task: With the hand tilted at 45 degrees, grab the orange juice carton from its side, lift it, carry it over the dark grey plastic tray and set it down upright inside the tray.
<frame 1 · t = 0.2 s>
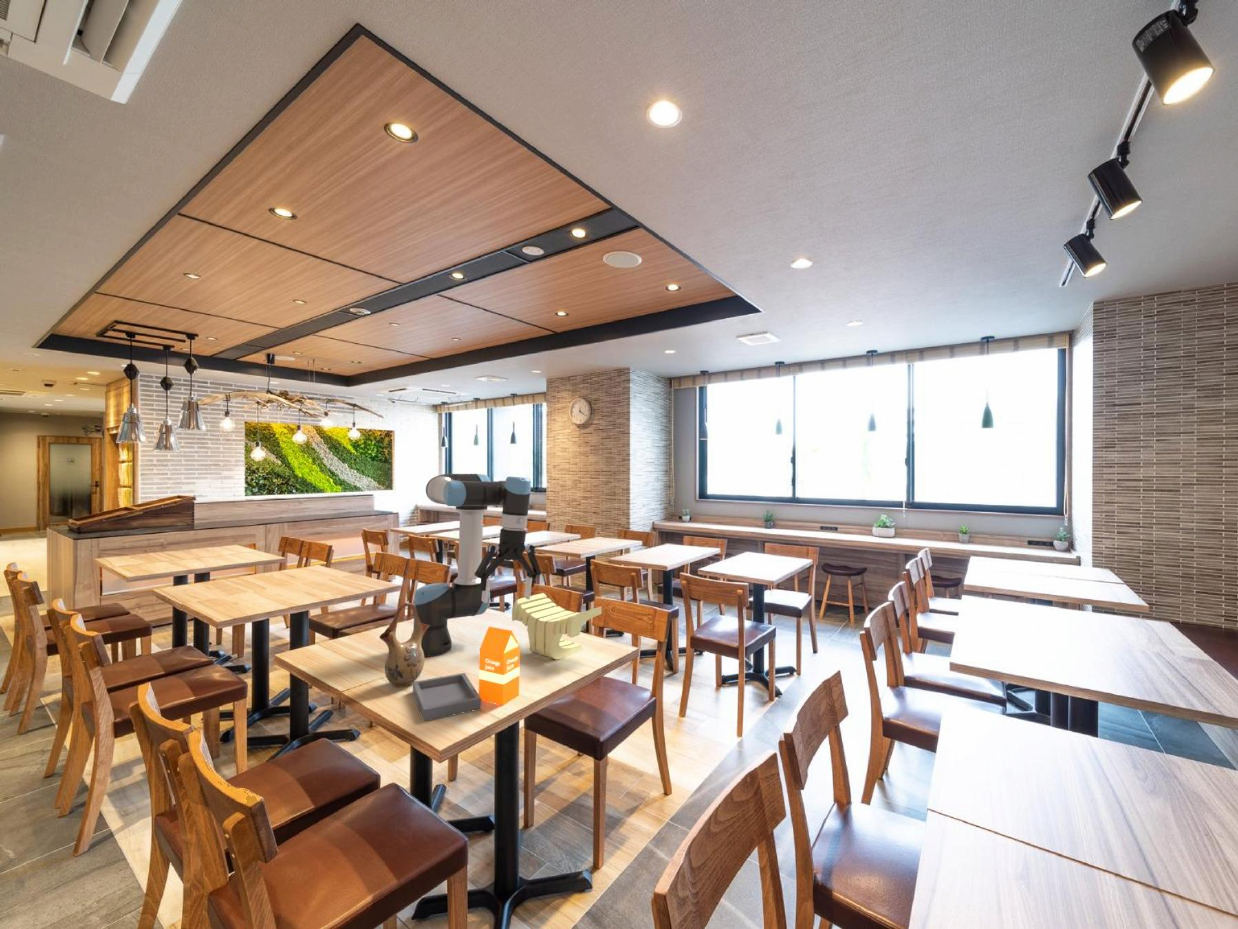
hand: (506, 600, 150), 28 cm above the table, tool pointing down, fingers open, 13 cm apart
tray: (445, 700, 145), on the table
slatted curved stool: (555, 652, 186), on the table
orange juice: (498, 698, 148), on the table
ceramic vessel: (404, 685, 156), on the table
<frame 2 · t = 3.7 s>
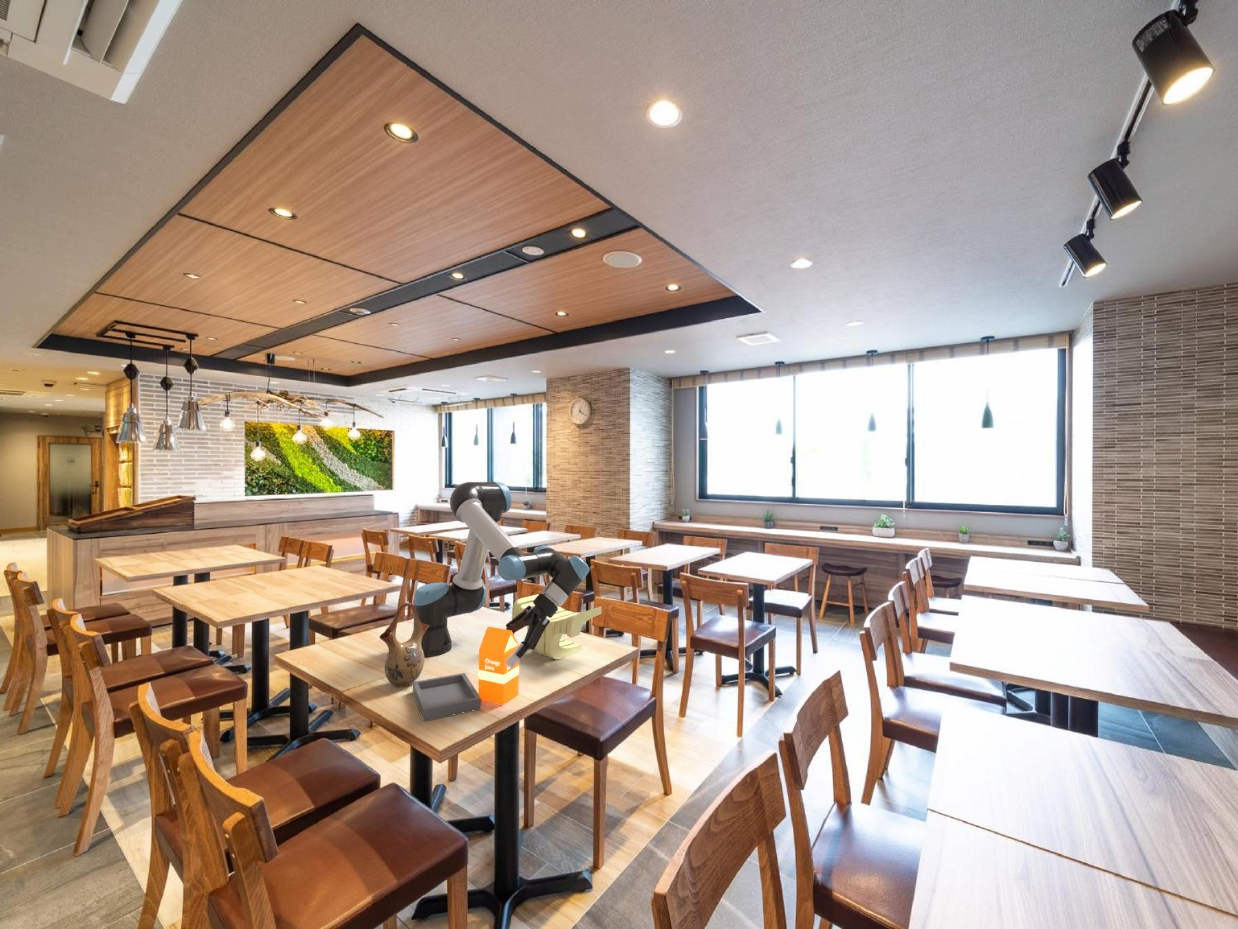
hand: (500, 657, 148), 12 cm above the table, tool tilted 45°, fingers open, 13 cm apart
nothing on the table moved.
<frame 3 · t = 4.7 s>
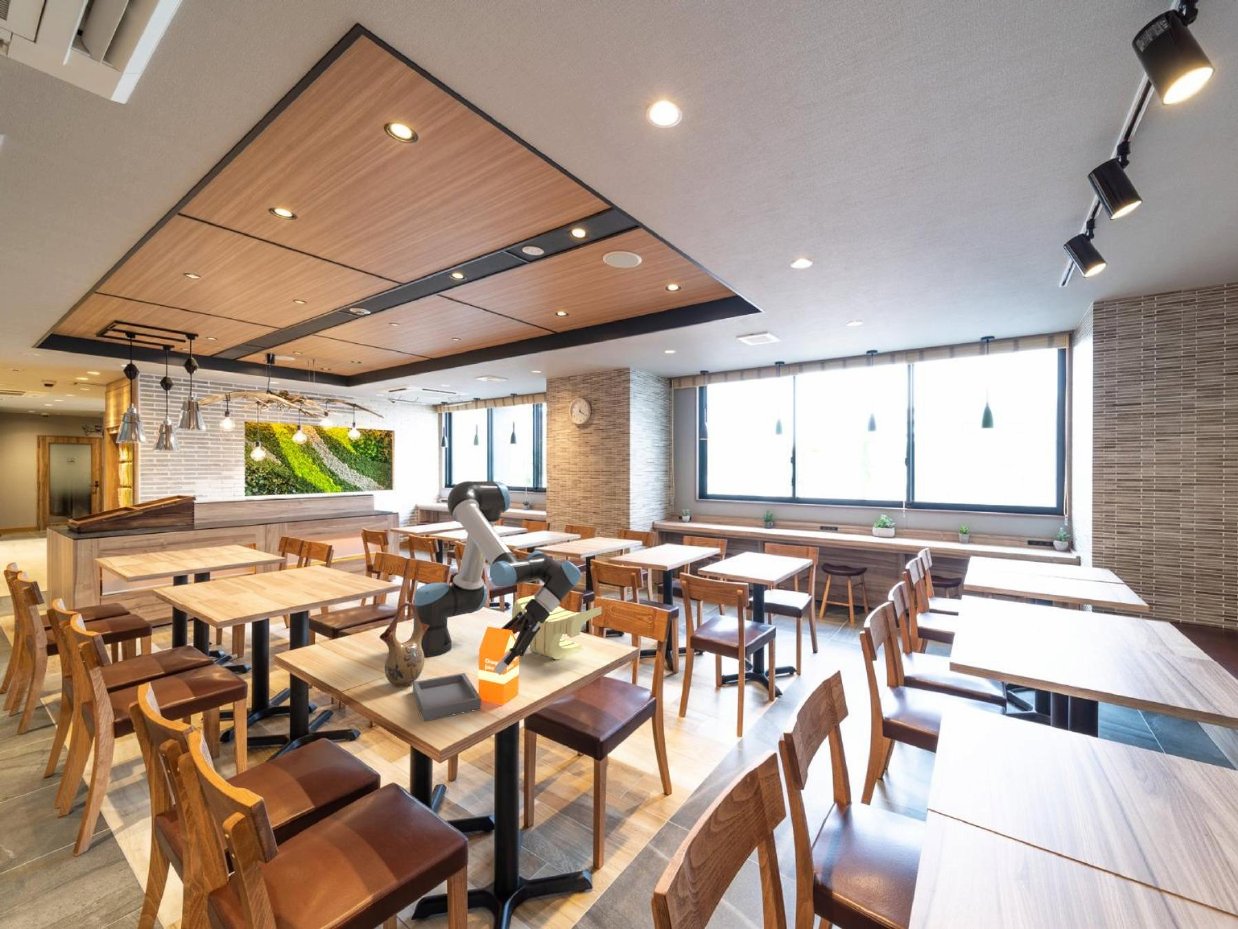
hand: (490, 665, 147), 10 cm above the table, tool tilted 45°, fingers closed on orange juice, 11 cm apart
orange juice: (498, 697, 148), on the table, touching gripper
everything else where it was.
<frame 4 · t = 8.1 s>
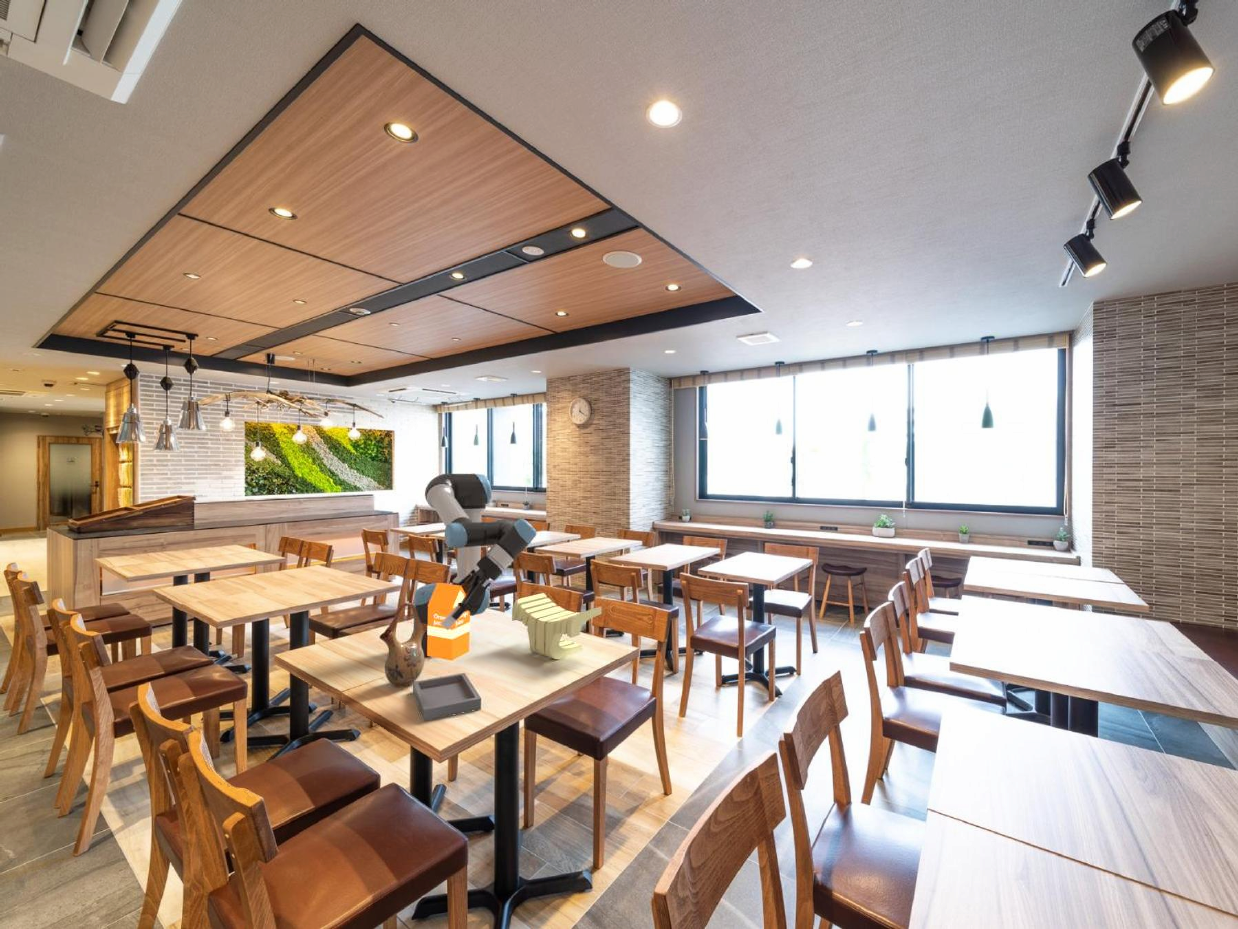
hand: (439, 621, 145), 23 cm above the table, tool tilted 45°, fingers closed on orange juice, 11 cm apart
orange juice: (448, 654, 146), point 13 cm above the table, touching gripper
everything else where it was.
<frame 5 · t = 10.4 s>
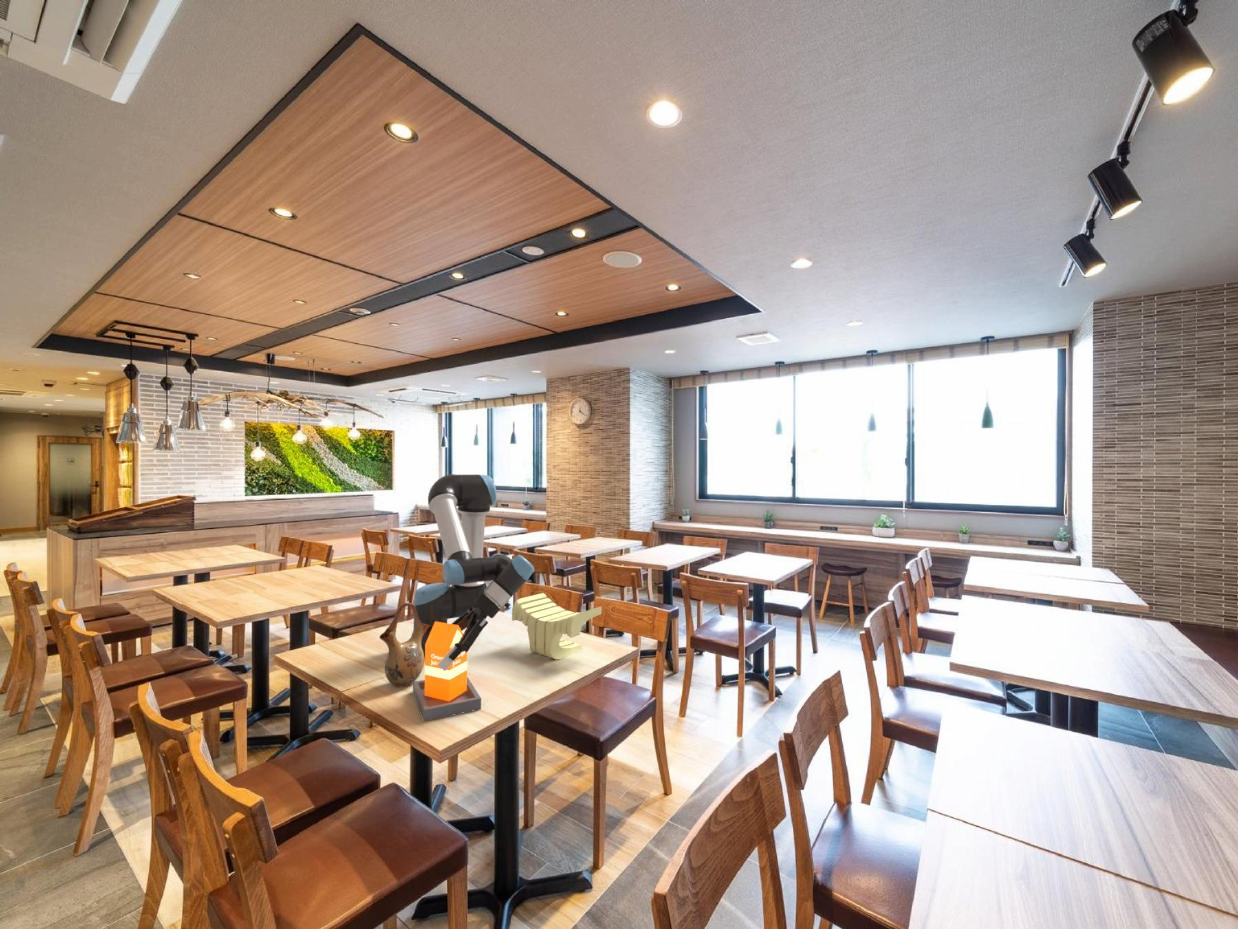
hand: (436, 660, 144), 12 cm above the table, tool tilted 45°, fingers closed on orange juice, 11 cm apart
orange juice: (445, 693, 146), point 2 cm above the table, touching gripper
everything else where it was.
when the fingers open (12 cm above the table, at t = 11.4 s): orange juice stays where it is, resting on tray.
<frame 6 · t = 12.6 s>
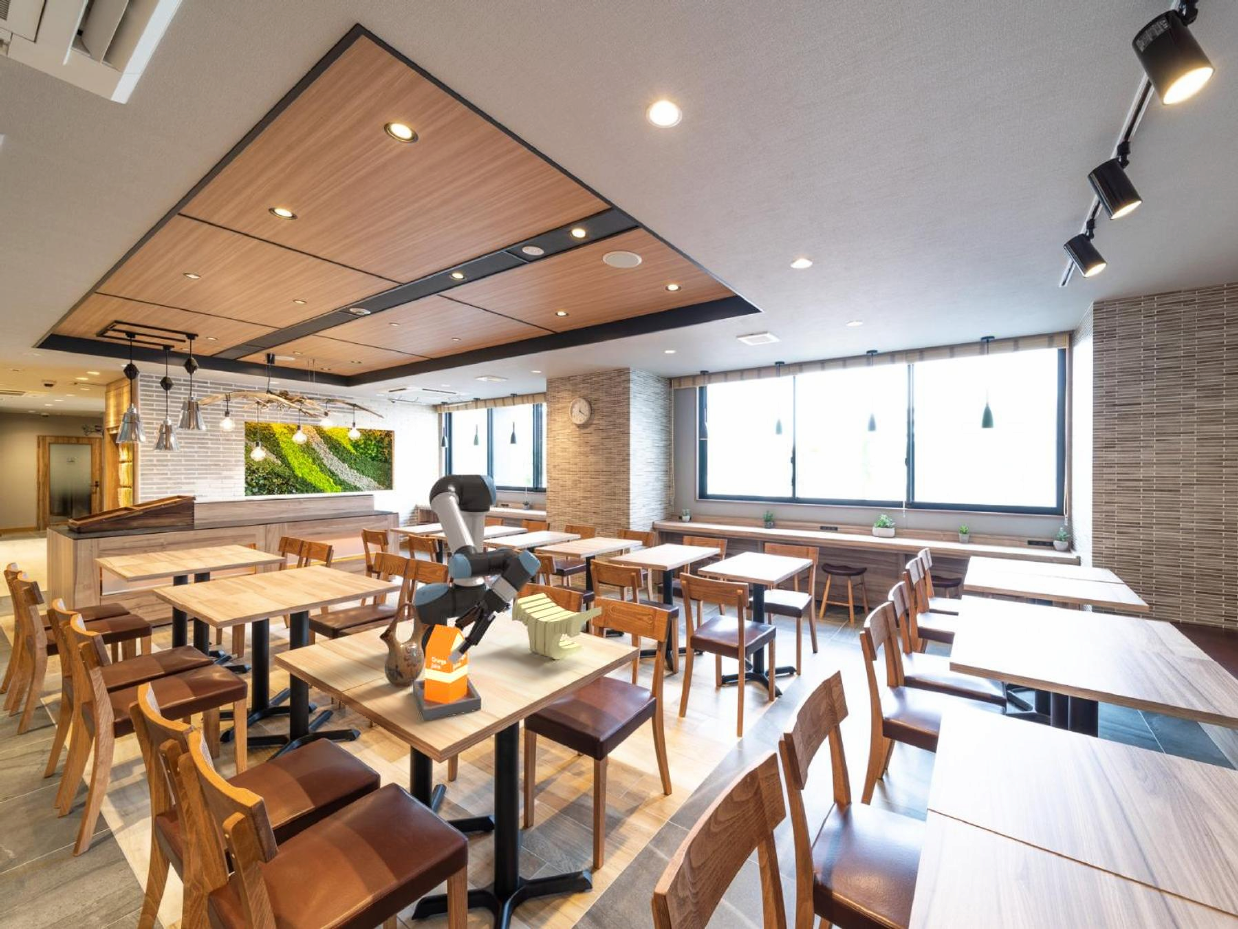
hand: (445, 653, 145), 13 cm above the table, tool tilted 45°, fingers open, 13 cm apart
orange juice: (445, 697, 146), point 1 cm above the table, touching gripper, tray
everything else where it was.
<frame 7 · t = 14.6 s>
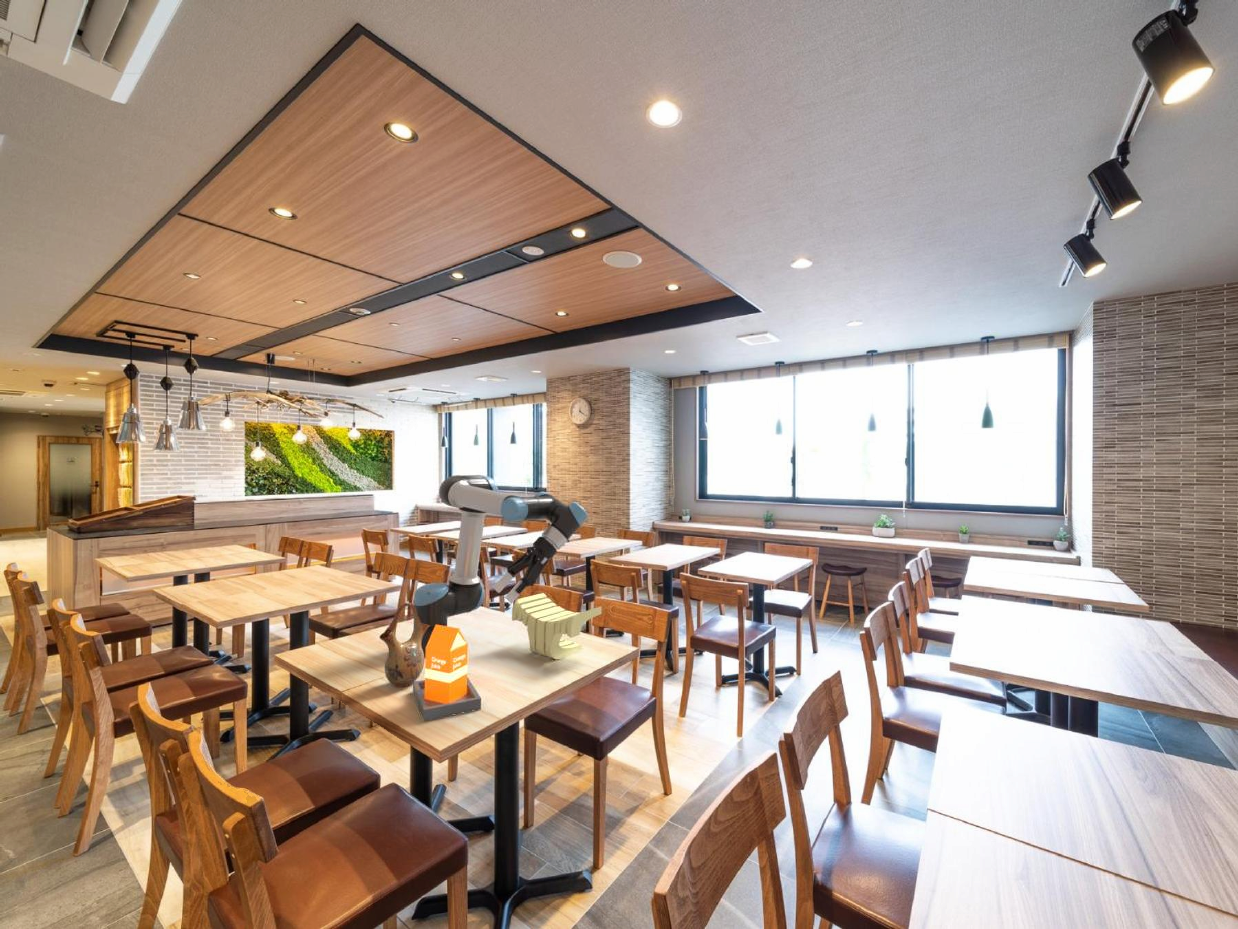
hand: (501, 595, 154), 28 cm above the table, tool tilted 45°, fingers open, 13 cm apart
orange juice: (445, 697, 146), point 1 cm above the table, touching tray
everything else where it was.
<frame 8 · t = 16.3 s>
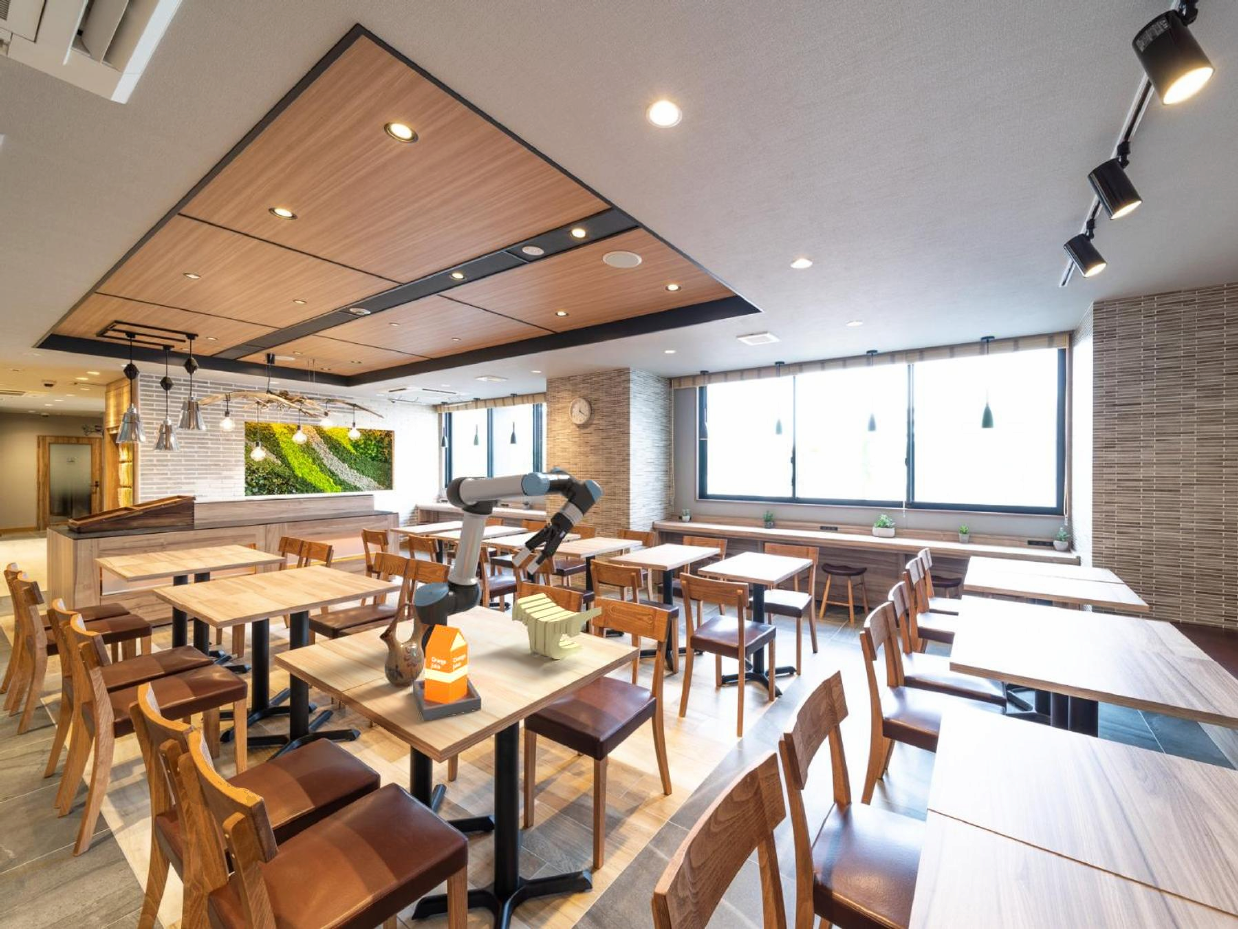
hand: (521, 567, 160), 36 cm above the table, tool tilted 45°, fingers open, 13 cm apart
nothing on the table moved.
at the end: orange juice inside the target area on the tray (0.3 cm from its centre), point 0.8 cm above the tray's base; orange juice tilted 0°; the gripper is holding nothing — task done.
